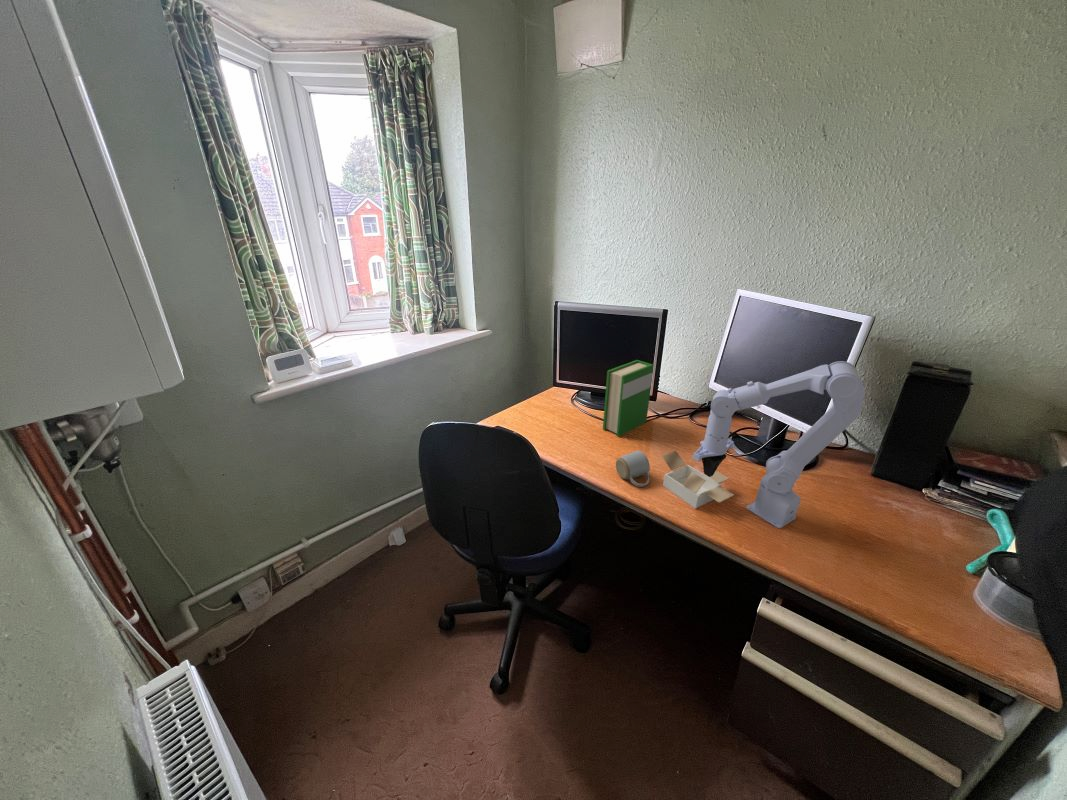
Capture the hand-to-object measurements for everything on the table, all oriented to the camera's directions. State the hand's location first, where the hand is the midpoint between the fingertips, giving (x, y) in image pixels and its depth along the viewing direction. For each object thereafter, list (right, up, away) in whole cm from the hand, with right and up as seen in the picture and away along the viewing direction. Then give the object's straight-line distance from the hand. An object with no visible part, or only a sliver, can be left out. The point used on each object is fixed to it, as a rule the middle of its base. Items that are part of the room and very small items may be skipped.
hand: (708, 474), depth 115 cm
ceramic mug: (-19, -3, +10) cm, 21 cm away
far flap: (-7, +3, +8) cm, 11 cm away
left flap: (-5, -2, -2) cm, 6 cm away
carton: (-1, -6, +3) cm, 7 cm away
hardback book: (-15, +11, +41) cm, 45 cm away
